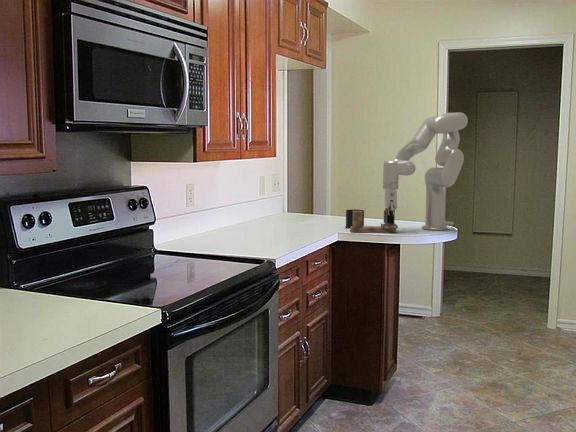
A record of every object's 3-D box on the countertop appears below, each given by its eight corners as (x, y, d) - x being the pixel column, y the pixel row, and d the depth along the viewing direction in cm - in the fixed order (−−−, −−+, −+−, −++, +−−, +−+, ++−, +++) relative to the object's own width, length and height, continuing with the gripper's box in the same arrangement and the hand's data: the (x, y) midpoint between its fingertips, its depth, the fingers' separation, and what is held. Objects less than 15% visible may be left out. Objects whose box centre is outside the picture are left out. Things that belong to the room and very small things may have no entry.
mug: (368, 226, 329) (369, 209, 328) (359, 229, 319) (359, 212, 317) (352, 225, 334) (352, 208, 332) (342, 228, 323) (342, 210, 322)
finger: (393, 224, 312) (393, 208, 311) (394, 225, 308) (394, 209, 307) (383, 224, 312) (383, 208, 311) (384, 225, 308) (385, 209, 307)
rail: (395, 230, 314) (395, 210, 313) (397, 233, 307) (398, 212, 305) (350, 230, 314) (350, 210, 313) (351, 233, 307) (351, 212, 306)
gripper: (401, 187, 299) (400, 224, 302) (395, 184, 316) (394, 220, 318) (385, 187, 299) (384, 224, 302) (380, 184, 316) (379, 220, 318)
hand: (389, 222), depth 310 cm, fingers closed on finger, 4 cm apart
